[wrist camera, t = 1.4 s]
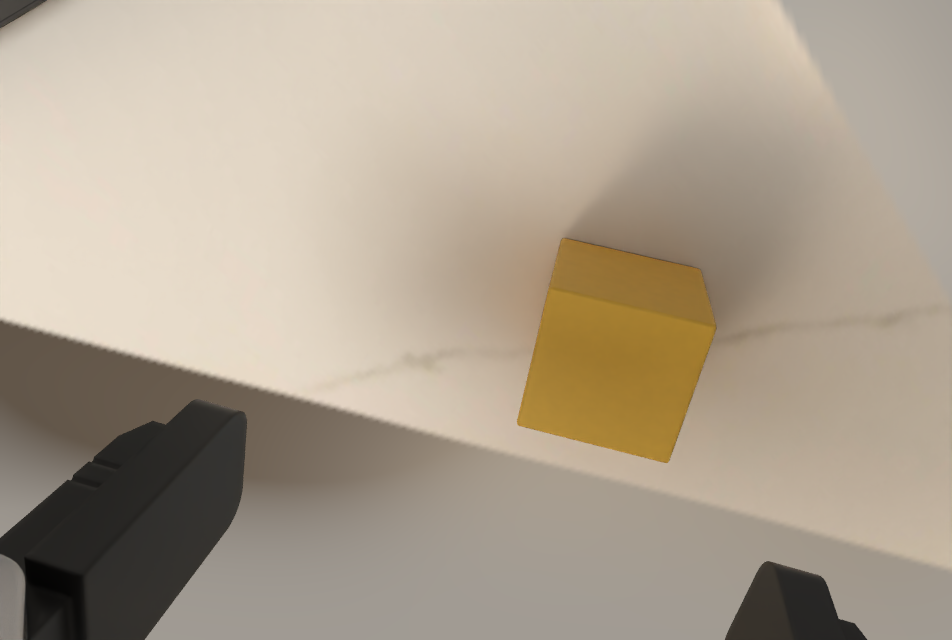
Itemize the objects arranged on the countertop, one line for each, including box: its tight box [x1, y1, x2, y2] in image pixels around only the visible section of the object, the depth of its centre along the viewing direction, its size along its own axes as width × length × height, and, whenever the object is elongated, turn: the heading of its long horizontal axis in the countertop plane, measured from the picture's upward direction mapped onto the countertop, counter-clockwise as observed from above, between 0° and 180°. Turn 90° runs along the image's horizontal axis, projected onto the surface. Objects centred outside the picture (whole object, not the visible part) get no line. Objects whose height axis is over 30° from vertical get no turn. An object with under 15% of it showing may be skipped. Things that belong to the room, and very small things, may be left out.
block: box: [517, 238, 717, 463], centre depth 22 cm, size 4×4×4 cm
